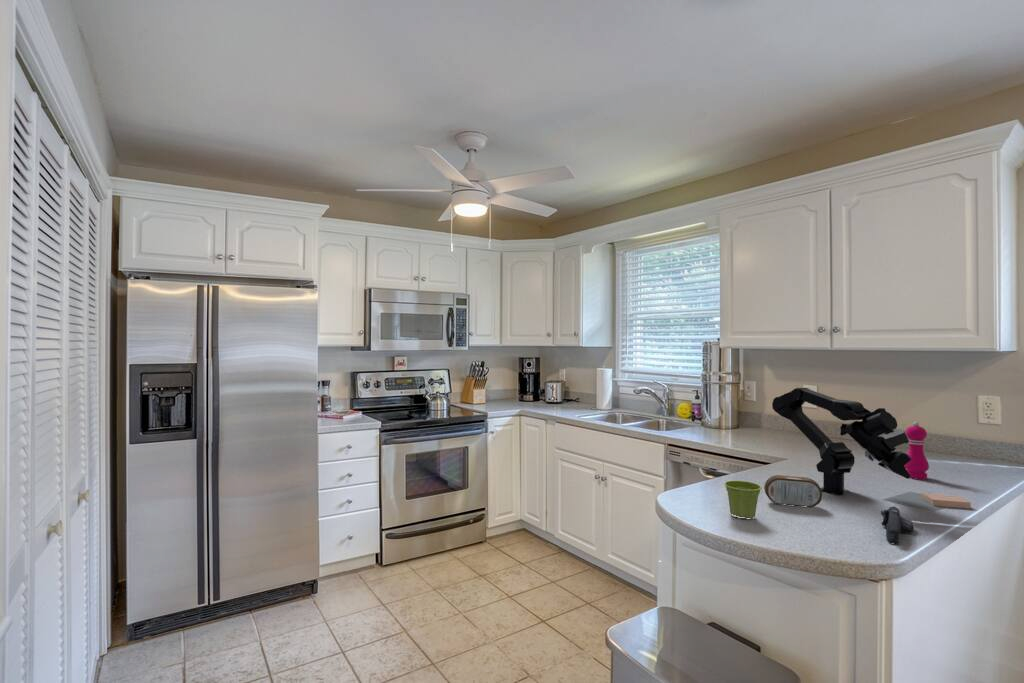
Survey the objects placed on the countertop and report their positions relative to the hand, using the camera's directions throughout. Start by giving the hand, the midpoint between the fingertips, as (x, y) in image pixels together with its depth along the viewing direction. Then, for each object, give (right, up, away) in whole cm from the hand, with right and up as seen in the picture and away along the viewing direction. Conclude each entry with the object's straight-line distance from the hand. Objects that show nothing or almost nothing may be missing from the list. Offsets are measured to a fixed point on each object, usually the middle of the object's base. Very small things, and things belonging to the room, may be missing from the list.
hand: (909, 477), depth 158 cm
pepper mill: (+26, -8, +31) cm, 41 cm away
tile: (+4, -6, -2) cm, 7 cm away
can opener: (-24, -8, -27) cm, 37 cm away
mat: (+3, -7, 0) cm, 8 cm away
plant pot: (-56, -7, -14) cm, 58 cm away
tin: (-37, -8, -3) cm, 38 cm away
